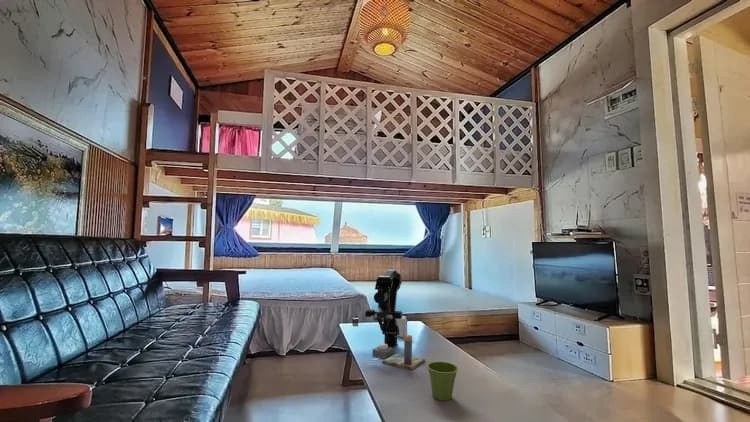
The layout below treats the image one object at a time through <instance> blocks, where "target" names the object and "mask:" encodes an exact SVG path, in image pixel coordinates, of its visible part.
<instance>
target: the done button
mask: <svg viewBox="0 0 750 422" xmlns="http://www.w3.org/2000/svg"><path fill="white" fill-rule="evenodd" d="M378 347H379V350H383V351H386V350H388V344H384V343H379V344H378Z"/></svg>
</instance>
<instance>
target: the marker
mask: <svg viewBox="0 0 750 422" xmlns="http://www.w3.org/2000/svg"><path fill="white" fill-rule="evenodd" d="M403 343H404V344H403V345H404V346H403V349H404V350H403V351H404V352H403V355H404V364H407V365H410V364H412V357H413V355H412V354H413V335H411V334H407V335H405V336H404V338H403Z"/></svg>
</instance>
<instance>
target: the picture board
mask: <svg viewBox="0 0 750 422" xmlns="http://www.w3.org/2000/svg"><path fill="white" fill-rule="evenodd" d="M425 362H426V359H424V358H420V357H415V356H412V364H410V365H407V364H404V354H402V353H394V354H393V355H391V356H390V357H388V358H384V359H383V360H382V361H381V364H383V363H384V365H388V366H393V367H397V368H401V369H404V370H405V369H406V370H409V371H413V370H415V369H416V368H418V367H419V366H421V365H422V364H424V363H425Z"/></svg>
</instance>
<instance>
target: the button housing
mask: <svg viewBox="0 0 750 422" xmlns="http://www.w3.org/2000/svg"><path fill="white" fill-rule="evenodd" d="M394 354H395V347H388V350H386V351H383V350H379V346H376V347H375V348H373V349H372V356H374V357H378V358H382V359H387V358H389V357H391V356H392V355H394Z"/></svg>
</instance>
